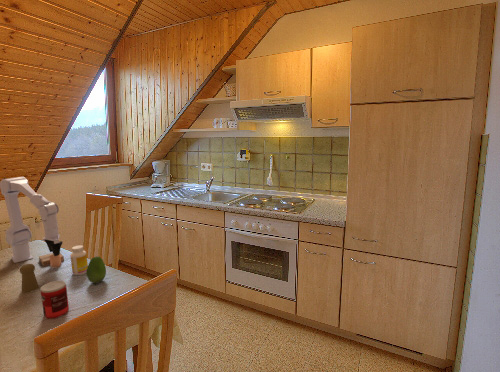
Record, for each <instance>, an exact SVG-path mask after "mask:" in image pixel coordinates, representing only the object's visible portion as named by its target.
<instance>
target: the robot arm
mask: <svg viewBox="0 0 500 372" xmlns="http://www.w3.org/2000/svg"><path fill="white" fill-rule="evenodd" d="M29 184H30V183H29V180H28V179H27V178H26V177H24V176H18V177H11V178H3V179H1V180H0V192H1V196H4V201H5V202H4V203H5V205H6V210H7V215H8V220H9V224H10V227H8V228H7V229H6V230H5V241H6V243H7V244H8V245H9V246H11V249H12V250H11V251H12V256H11V257H10V258H11V260H12V262H13V263H15V264H17V263H20V262H23V261H28V260H31V259H34V256H33V255H32V254H31V250H30V248H31V247H30V243H29V242H30V241H31V239H32V237H33V232H32V231H31V229H30V226H28V225H27V224H24V221H23V215H22V212H21V207H20V201H19V198H18V197H19V194H20V193H22V194H23V195H25V196H26V197H27V198H29V202H30V203H31V204H32V205H33V206H34V207H35V208H36V209H37V210H38V214H39V215H40V218H41V220H42V223H43V230H44V231H43V232H44V235H45V236H44V237H42V240H43V241H44V242H45V244H46V246H47V247H48V248H47V249H48V251H49V253H53V254H54V256H58V255H60V253H61V248H62V245H63V244H64V243H63V241H62V240H61V241H60V237H61V236H60V232H59V225H58V217H57V216H58V215H57V214H58V213H59V210H60V209H59V205H58V204H57V203H56V202H52V201H49V199H47V198H46V197H45V196H43V194H40V193H37V192H35V190H34V189H33V188H32V187H31V186H30V185H29Z"/></svg>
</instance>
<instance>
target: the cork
mask: <svg viewBox="0 0 500 372" xmlns="http://www.w3.org/2000/svg"><path fill="white" fill-rule="evenodd" d="M35 270H36V266H35V264H33V263H27V264H23V265H21V266H20V267H19V273H20V274H21V293H25V294H29V293H33V292H35V291H36V290H38V289H40V286H39V283H38V280H37V276H36V273H35Z"/></svg>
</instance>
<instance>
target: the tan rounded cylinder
mask: <svg viewBox="0 0 500 372" xmlns="http://www.w3.org/2000/svg"><path fill="white" fill-rule="evenodd" d="M49 257H50V265H49V266H50V268H52V269H54V268H55V269H56V268H59V267H61V266H62V261H61V256H60V255H58V256H54V254H53V255H51V256H49Z"/></svg>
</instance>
